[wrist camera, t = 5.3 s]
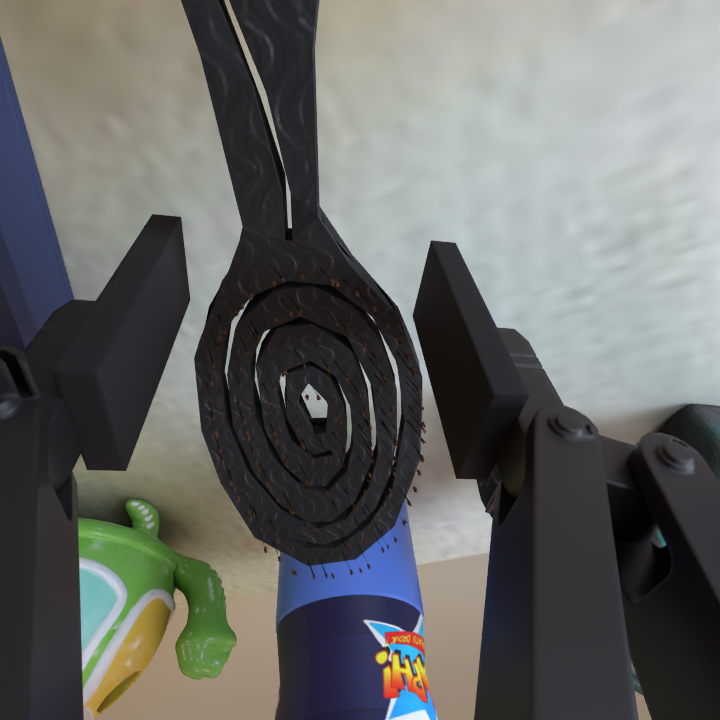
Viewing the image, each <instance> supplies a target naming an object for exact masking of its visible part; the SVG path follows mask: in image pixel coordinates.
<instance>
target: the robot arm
mask: <svg viewBox="0 0 720 720" xmlns="http://www.w3.org/2000/svg"><path fill="white" fill-rule="evenodd" d="M189 302H190V293H189V284H188V275H187V266H186V257H185V248H184V239H183V230H182V221H181V217H176V216H165V215H155V214H152V216H151V217H150V219H149V220H148V222H147V223H146V225H145V226H144V228H143V230H142V231H141V233H140V234H139V236H138V237H137V239H136V240H135V242H134V243H133V245H132V246H131V248H130V249H129V251H128V253H127V254H126V256H125V257H124V259H123V260H122V262H121V263H120V265H119V266H118V268H117V269H116V271H115V272H114V274H113V276H112V277H111V279H110V280H109V282H108V283H107V285H106V286H105V288H104V289H103V291H102V292H101V294H100V295H99V297H98V299H97V300H96V301H87V300H73V299H72V300H71V301H69V302H68V303H66V304H64V305H63V306H61V307H60V308H58V309H56V310H55V311H53V313H52V314H51V315H50V317H49V318H48V319H47V321H46V322H45V323H44V325H43V329H40V330H39V331H38V333H37V334H36V335H35V336H34V341H31V342H30V343H29V344H28V346H27V347H26V348H25V350H24V351H23V352H22V351H21V350H19V349H18V348H16V347H14V346H9V345H4V344H0V720H84V712H83V677H82V641H81V606H80V571H79V536H78V501H77V483H76V480H75V477H74V474H73V472H72V470H73V468H74V466H75V464H76V462H77V460H78V458H79V456H80V454H82V457H83V460H84V462H85V465H86V468H87V470H112V471H126V469H127V467H128V464H129V461H130V459H131V456H132V453H133V451H134V448H135V446H136V443H137V440H138V438H139V435H140V432H141V430H142V427H143V424H144V422H145V419H146V416H147V414H148V411H149V408H150V406H151V403H152V400H153V398H154V395H155V392H156V390H157V387H158V384H159V382H160V379H161V376H162V374H163V371H164V368H165V366H166V363H167V360H168V358H169V355H170V352H171V350H172V347H173V344H174V342H175V339H176V336H177V334H178V331H179V328H180V326H181V323H182V320H183V318H184V315H185V312H186V310H187V307H188V304H189ZM413 319H414V322H415V326H416V330H417V334H418V337H419V341H420V345H421V349H422V352H423V356H424V360H425V364H426V367H427V371H428V375H429V378H430V382H431V386H432V390H433V393H434V397H435V401H436V405H437V408H438V412H439V416H440V419H441V423H442V427H443V431H444V434H445V438H446V442H447V446H448V449H449V453H450V457H451V461H452V464H453V468H454V472H455V475H456V479H488V478H489V476H490V474H491V472H492V470H493V468H494V466H495V464H496V465H497V468H498V471H499V473H500V476H501V480H500V482H499V484H498V486H497V488H496V490H495V492H494V494H493V495H492V497H491V499H490V501H489V503H488V505H487V508H486V511H485V512H487V513H490V512H491V510H492V508H493V506H494V511H493V521H492V532H491V543H490V554H489V566H488V576H487V587H486V598H485V608H484V619H483V630H482V642H481V651H480V663H479V674H478V685H477V695H476V706H475V717H474V720H638V712H637V706H636V698H635V690H634V683H633V675H632V668H631V661H630V658H631V660H632V663H633V666H634V669H635V672H636V675H637V678H638V681H639V684H640V687H641V689H642V692H643V695H644V698H645V701H646V704H647V707H648V710H649V713H650V715H651V718H652V720H720V482H719V481H718V479H717V478H716V476H715V474H714V473H713V471H712V470H711V468H710V467H709V465H708V464H707V462H706V461H705V460H704V458H703V457H702V456H701V455H700V454H699V453H698V451H696V450H695V449H694V448H692V447H691V446H690V445H688V444H687V443H686V442H684V441H682V440H680V439H678V438H676V437H674V436H671V435H667V434H663V433H648V434H646V435H644V436H642V438H641V439H640V440H639V441H638V443H637V444H636V445H635V446H634V445H631V444H627V443H624V442H620V441H617V440H614V439H610V438H607V437H604V436H601V435H599V433H598V430H597V428H596V427H595V425H594V424H593V423H592V422H591V421H590V420H589V419H588V418H587V417H586V416H584V415H583V414H581V413H580V412H578V411H576V410H574V409H572V408H569V407H567V406H564V405H563V403H562V401H561V399H560V397H559V396H558V394H557V392H556V390H555V388H554V387H553V385H552V383H551V381H550V379H549V378H548V376H547V374H546V372H545V370H544V369H542V365H541V363H540V361H539V360H538V358H536V354H535V352H534V351H533V349H532V347H531V345H530V343H529V342H528V341H527V340H526V339H525V338H524V337H523V336H522V335H521V334H519V333H518V332H517V331H516V330H515V329H508V328H497V327H496V325H495V323H494V321H493V319H492V317H491V315H490V313H489V311H488V308H487V306H486V304H485V302H484V300H483V298H482V296H481V294H480V292H479V290H478V288H477V286H476V284H475V282H474V280H473V278H472V276H471V274H470V272H469V270H468V268H467V266H466V264H465V262H464V259H463V257H462V255H461V253H460V251H459V249H458V247H457V245H456V243H450V242H440V241H431V243H430V247H429V251H428V255H427V259H426V263H425V268H424V272H423V276H422V280H421V284H420V288H419V292H418V296H417V300H416V304H415V308H414V313H413ZM659 530H660V532H661V535H662V537H663V539H664V541H665V543H666V546H663V545H662V543H661V542H660V540H659V538H658V536H657V534H656V533H657V532H658V531H659Z"/></svg>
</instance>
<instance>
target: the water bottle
mask: <svg viewBox="0 0 720 720" xmlns="http://www.w3.org/2000/svg"><path fill="white" fill-rule="evenodd" d="M400 513H401V514H400ZM400 513H399V516H398V518H397V521H396V524H395V526H394V527H393V528H392V529H391V531H388V532H387V533H386V534H385V535H384V536H383V538H382V537H381V538H380V539H379V540H378V541H379V542H378V541H377V542H376V543H374V544H373V545H372V546H371V547H370V548H368V549H367V550H366V551H365V552H364V553H363V554H361V555H360V556H359V557H358V558H357V559H356V560H349V561H347V562H346V561H342V562H334V563H327V564H322V565H323V567H324V569H325V572H326V574H328V577H327V578H326V577H325V573H324V570H323V568H322V565H321V564H320V565H313V566H311V568H312V570H313V573H314V574H315V578H316V579H315V580H314V579H313V574H312V572H311V569H310V566H307V565H305V564H303V563H301V562H299V561H298V560H296V559H294V558H292V557H290V556H288V555H287V554H285V553H283V552H281V551H280V559H281V561H280V563H279V579H278V597H277V614H276V633H277V641H278V657H279V672H280V688H279V695H278V702H277V708H276V715H275V720H438V719H437V715H436V711H435V708H434V704H433V700H432V696H431V692H430V688H429V684H428V680H427V676H426V673H425V654H424V629H423V628H424V627H423V622H424V613H423V606H422V600H421V594H420V588H419V582H418V575H417V569H416V562H415V557H414V551H413V545H412V539H411V533H410V527H409V521H408V515H407V509H406V503H405V500H404V503H403V505H402V508H401V511H400ZM400 517H401V518H400ZM401 519H402V520H404V519H405V520H406V521H407V523H405V526H406V527H405V526H404V525H403V524H402V520H401ZM394 536H395V537H396V538H397V543H396V542H395V541H394ZM384 540H385V541H384ZM385 542H386V543H385ZM386 544H387V545H389V550H388V548H387V546H386ZM382 547H383V548H384V552H385V553H383V552H382V550H381V548H382ZM363 555H364V556H363ZM287 557H288V558H287ZM364 557H365V558H364ZM365 559H366V560H365ZM288 560H289V561H288ZM366 561H367V562H366ZM289 563H290V564H289ZM347 563H348V564H347ZM292 564H293V565H292ZM367 564H369V565H370V570H369V568H368V567H367ZM348 565H349V566H348ZM290 566H291V567H290ZM349 567H350V568H349ZM359 567H360V568H361V570H362V573H360V571H359ZM291 568H292V569H293V570H294V571H295V570H296V573H297V576H296V575H293V574H292V573H291V572H292V570H291ZM350 569H352V571H353V575H351V574H350ZM332 572H333V574H334V577H335V579H333V577H332V575H331V573H332Z"/></svg>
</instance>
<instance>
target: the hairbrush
mask: <svg viewBox="0 0 720 720" xmlns="http://www.w3.org/2000/svg"><path fill="white" fill-rule="evenodd" d="M229 1H230V4H231V6H232V9H233V11H234V14H235V16H236V19H237V21H238V23H239V26H240V28H241V31H242V33H243V36H244V38H245V41H246V43H247V46H248V48H249V51H250V53H251V56H252V58H253V61H254V63H255V66H256V68H257V71H258V73H259V76H260V78H261V81H262V83H263V86H264V88H265V91H266V93H267V97H268V101H269V105H270V110H271V114H272V118H273V122H274V126H275V130H276V134H277V139H278V143H279V147H280V151H281V155H282V159H283V164H284V168H285V172H286V176H287V180H288V184H289V188H290V193H291V213H292V228H288V219H287V199H286V179H285V172H284V169H283V165H282V162H281V159H280V156H279V153H278V150H277V147H276V144H275V141H274V138H273V135H272V131H271V128H270V125H269V122H268V119H267V116H266V113H265V110H264V107H263V104H262V101H261V98H260V95H259V92H258V89H257V87H256V84H255V81H254V79H253V76H252V73H251V71H250V68H249V65H248V63H247V60H246V58H245V55H244V52H243V50H242V47H241V44H240V42H239V39H238V36H237V34H236V31H235V28H234V26H233V23H232V20H231V18H230V15H229V13H228V10H227V7H226V5H225V2H224V0H181V2H182V4H183V7H184V10H185V13H186V16H187V19H188V21H189V24H190V27H191V30H192V33H193V36H194V39H195V41H196V44H197V47H198V50H199V53H200V56H201V60H202V64H203V68H204V72H205V76H206V80H207V84H208V88H209V92H210V96H211V100H212V104H213V108H214V112H215V116H216V120H217V125H218V129H219V133H220V137H221V141H222V145H223V149H224V153H225V157H226V161H227V165H228V169H229V173H230V177H231V181H232V185H233V189H234V193H235V197H236V201H237V205H238V209H239V213H240V217H241V221H242V225H243V228H242V233H241V237H240V241H239V244H238V247H237V249H236V252H235V255H234V258H233V260H232V263H231V266H230V269H229V271H228V273H227V275H226V276H225V277H224V279H223V280H222V283H221V285H220V288H219V290H218V292H217V294H216V296H215V297H214V299H213V301H212V303H211V304H210V306H209V310H208V314H207V319H206V324H205V328H204V330H203V333H202V336H201V338H200V341H199V344H198V348H197V351H196V354H195V357H194V361H195V371H196V381H197V391H198V401H199V411H200V421H201V431H202V433H203V436H204V439H205V441H206V444H207V447H208V450H209V452H210V455H211V458H212V460H213V463H214V466H215V469H216V471H217V474H218V477H219V479H220V482H221V484H222V486H223V487H224V489H225V491H226V492H227V494H228V495H229V497H230V499H231V500H232V502H233V503H234V505H235V507H236V508H237V510H238V511H239V513H240V515H241V516H242V518H243V519H244V521H245V523H246V524H247V526H248V528H249V529H250V531H251V532H252V534H253V536H254V537H255V538H257V539H259V540H261V541H263V542H265V543H266V544H268V545H270V546H272V547H274V548H276V551H277V550H279V551H281V552H283V553H285V554H287V555H288V556H290V557H292V558H294V559H296V560H298V561H299V562H301V563H303V564H305V565H307V566H310V569H311V572H312V574H313V579H314V580H315V579H316V578H315V574H314V573H313V570H312V568H311V566H313V565H320V564H321V565H322V564H327V563H334V562H342V561H346V562H347V561H349V560H356V559H357V558H358V557H359V556H360V555H361V554H363V553H364V552H365V551H366V550H367V549H368V548H370V547H371V546H372V545H373V544H374V543H376V542H377V541H378V540H379V539H380V538H381V537H382V538H383V536H384V535H385V534H386V533H387V532H388V531H391V529H392V528H393V527H394V526H395V524H396V521H397V518H398V516H399V513H400V511H401V508H402V505H403V503H404V500H405V498H406V500H407V501H408V502H407V503H408V505H410V506H412V505H411V503H410V501H409V500H408V499H407V497H406V495H407V492H408V490H409V487H410V484H412V483H411V482H412V479H413V477H414V474H415V471H416V469H417V466H418V463H419V461H420V460H421V462H424V457H423V456H422V455H421V454H420V449H421V441H422V443H423V444H424V443H425V441H424V440H423V439H422V438H421V429H422V430H423V431H424V433H425V432H426V430H425V429H424V428H423V427H426V426H425V424H424V422H422V410H424V407H422V375H421V372H420V367H419V361H418V358H417V355H416V352H415V349H414V346H413V343H412V340H411V337H410V335H409V332H408V330H407V328H406V325H405V323H404V321H403V318H402V316H401V313H400V311H399V309H398V306H397V305H396V304H395V303H394V302H393V301H392V300H391V298H390V297H389V296H388V295H387V294H386V293H385V292H384V290H383V289H382V288H381V287H380V286H379V285H378V284H377V282H376V281H375V280H374V279H373V278H372V277H371V276H370V275H369V273H368V272H367V271H366V270H365V269H364V268H363V267H362V265H361V264H360V263H359V262H358V261H357V260H356V259H355V257H354V256H353V255H352V254H351V252H350V251H349V249H348V248H347V246H346V245H345V243H344V242H343V240H342V239H341V237H340V236H339V234H338V233H337V231H336V230H335V228H334V227H333V225H332V224H331V223H330V221H329V220H328V218H327V217H326V215H325V214H324V212H323V211H322V209H321V208H320V206H319V176H318V142H317V108H316V74H315V39H316V29H317V18H318V9H319V0H229ZM253 295H254V296H253ZM249 298H250V300H249ZM248 300H249V302H248V304H247V306H246V308H245V310H244V312H243V314H242V316H241V318H240V320H239V322H238V323H237V326H236V329H235V333H234V338H233V343H232V349H231V355H230V361H229V367H228V373H227V376H228V384H227V380H226V375H225V364H226V357H227V350H228V343H229V336H230V329H231V322H232V320H233V319H234V317H235V316H237V315H238V314H239V313H238V312H239V311H240V310H241V309H243V308H244V305H245V303H246V302H247V301H248ZM366 312H367V313H368V314H369V315H371V316H372V317H373V319H374V321H375V322H374V321H373V320H372V319H371V317H370V316H369V315H368V314H367V313H366ZM376 324H377V325H376ZM269 329H270V331H269V332H268V333H267V335H266V337H265V338H264V340H263V341H262V344H261V347H260V351H259V355H258V359H257V362H256V348H257V346H258V344H259V342H260V340H261V337H262V335H263V333H264V331H266V330H269ZM379 330H380V331H379ZM380 332H381V334H382V336H383V338H384V340H385V341H386V343H387V345H388V347H389V349H390V351H391V353H392V355H393V357H394V358H395V360H396V364H397V367H398V375H399V382H400V390H401V412H402V414H401V421H400V427H399V434H398V441H397V439H396V438H397V389H396V385H395V375H394V372H393V369H392V366H391V363H390V360H389V357H388V355H387V352H386V349H385V346H384V343H383V340H382V337H381V334H380ZM359 361H360V363H361V365H362V367H363V369H364V371H365V373H366V375H367V377H368V379H369V381H370V384H371V391H372V398H373V406H374V413H375V420H376V445H375V448H374V451H373V450H372V449H371V446H372V442H371V428H372V427H371V426H370V424H371V423H370V413H369V399H368V388H367V384H366V381H365V378H364V375H363V372H362V369H361V366H360V363H359ZM255 364H256V371H257V378H258V385H259V392H260V398H259V394H258V390H257V387H256V383H255ZM286 370H287V372H286ZM284 372H285V373H284ZM281 374H282V377H284V375H286V386H285V404H286V408H285V404H284V399H283V395H282V391H281V387H280V382H279V381H280V376H281ZM338 382H339V383H338ZM308 383H309V384H310V385H311V386H312V387H313V389H315V390H316V391H317V392H318V393H319V394H320V395H321V396H322V397H323V398H324V399H325V400H326V401H327V404H328V409H327V418H312V417H311V415H310V413H309V411H308V408H307V406H306V404H305V402H304V400H303V397H302V395H301V394H302V392H303V391H304V389H305V388H306V386H307V385H308ZM339 384H340V386H341V388H342V390H343V392H344V394H345V396H346V399H347V401H348V403H349V405H350V410H351V421H352V434H351V444H350V448H349V449H348V451H347V453H345V450H346V441H347V415H346V403H345V400H344V397H343V394H342V391H341V388H340V386H339ZM228 385H229V389H228ZM315 390H314V391H315ZM315 393H316V392H315ZM316 394H317V393H316ZM305 398H307V399H308V398H309V395H308V396H307V395H306V396H305ZM260 399H261V402H260ZM317 400H320V397H319V395H317ZM422 426H423V427H422ZM395 445H396V446H397V448H396V455H395V456H394V451H395ZM372 447H373V446H372ZM393 460H394V463H393ZM392 463H393V465H392ZM417 472H418V475H419V476H420V475H421V472H420V471H419V470H417ZM413 489H414V492H417V488H416V487H413ZM400 514H401V513H400ZM400 518H401V517H400ZM401 520H402V519H401ZM405 523H407V521H406V520H405V519H404V520H402V524H403V525H404V526H405ZM405 527H406V526H405ZM384 541H385V540H384ZM394 541H395V542H396V543H397V538H396V537H395V536H394ZM378 542H379V541H378ZM385 543H386V542H385ZM263 544H264V543H263ZM386 546H387V548H388V550H389V545H387V544H386ZM381 550H382V552H383V553H385V552H384V548H383V547H382V548H381ZM264 552H265V553H266V552H267V549H266V547H265V546H264ZM277 553H278V552H277ZM363 556H364V555H363ZM287 558H288V557H287ZM364 558H365V557H364ZM278 559H279V561H281V559H280V556H279V557H278ZM365 560H366V559H365ZM279 561H278V562H279ZM288 561H289V560H288ZM366 562H367V561H366ZM289 564H290V563H289ZM347 564H348V563H347ZM292 565H293V564H292ZM348 566H349V565H348ZM290 567H291V566H290ZM367 567H368V568H369V570H370V565H369V564H367ZM322 568H323V570H324V573H325V577H326V578H327V577H328V574H326V572H325V569H324V567H323V565H322ZM349 568H350V567H349ZM291 570H292V572H291V573H292V574H293V575H296V576H297V573H296V570H295V571H294V570H293V569H292V568H291ZM359 571H360V573H362V570H361V568H360V567H359ZM350 574H351V575H353V571H352V569H350ZM331 575H332V577H333V579H335V577H334V574H333V572H332V573H331Z"/></svg>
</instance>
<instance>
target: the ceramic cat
mask: <svg viewBox="0 0 720 720" xmlns="http://www.w3.org/2000/svg"><path fill="white" fill-rule="evenodd" d="M660 433H663V434H667V435H671V436H674V437H676V438H678V439H680V440H682V441H684V442H686V443H687V444H688V445H690V446H691V447H692V448H694V449H695V450H696V451H698V453H699V454H700V455H701V456H702V457H703V458H704V460H705V461H706V462H707V464H708V465H709V467H710V468H711V470H712V471H713V473H714V474H715V476H716V478H717V479H718V481H719V482H720V407H719V406H711V405H701V404H690V405H688V406H686V407H684V408H682V409H681V410H679V411H678V412H677V413H676V414H675V415H674V416H673V417H672V418H671V419H670V420H669V422H668V423H667V424H666V426H665V427H664V428H663V430H662V431H661V432H660ZM500 480H501V476H500V473H499V471H498V468H497V465H496V464H495V466H494V468H493V470H492V472H491V474H490V476H489V478H488V479H477V484H478V489H479V493H480V497H481V500H482V502H483V504H484V506H485V508H487V505H488V503H489V501H490V499H491V497H492V495H493V494H494V492H495V490H496V488H497V486H498V484H499V482H500ZM493 511H494V506H493V508H492V510H491V512H490V513H489V514H490V515H491V517H492V518H493ZM656 534H657V536H658V538H659V540H660V542H661V543H662V545H663V546H666V543H665V541H664V539H663V537H662V535H661V532H660V530H659V531H658V532H657V533H656ZM630 661H631V668H632V675H633V683H634V690H635V691H636V692H638V693H639V694H641V695H643V692H642V689H641V687H640V684H639V681H638V678H637V676H636V672H635V669H634V666H633V663H632V660H631V658H630ZM643 696H644V695H643Z"/></svg>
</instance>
